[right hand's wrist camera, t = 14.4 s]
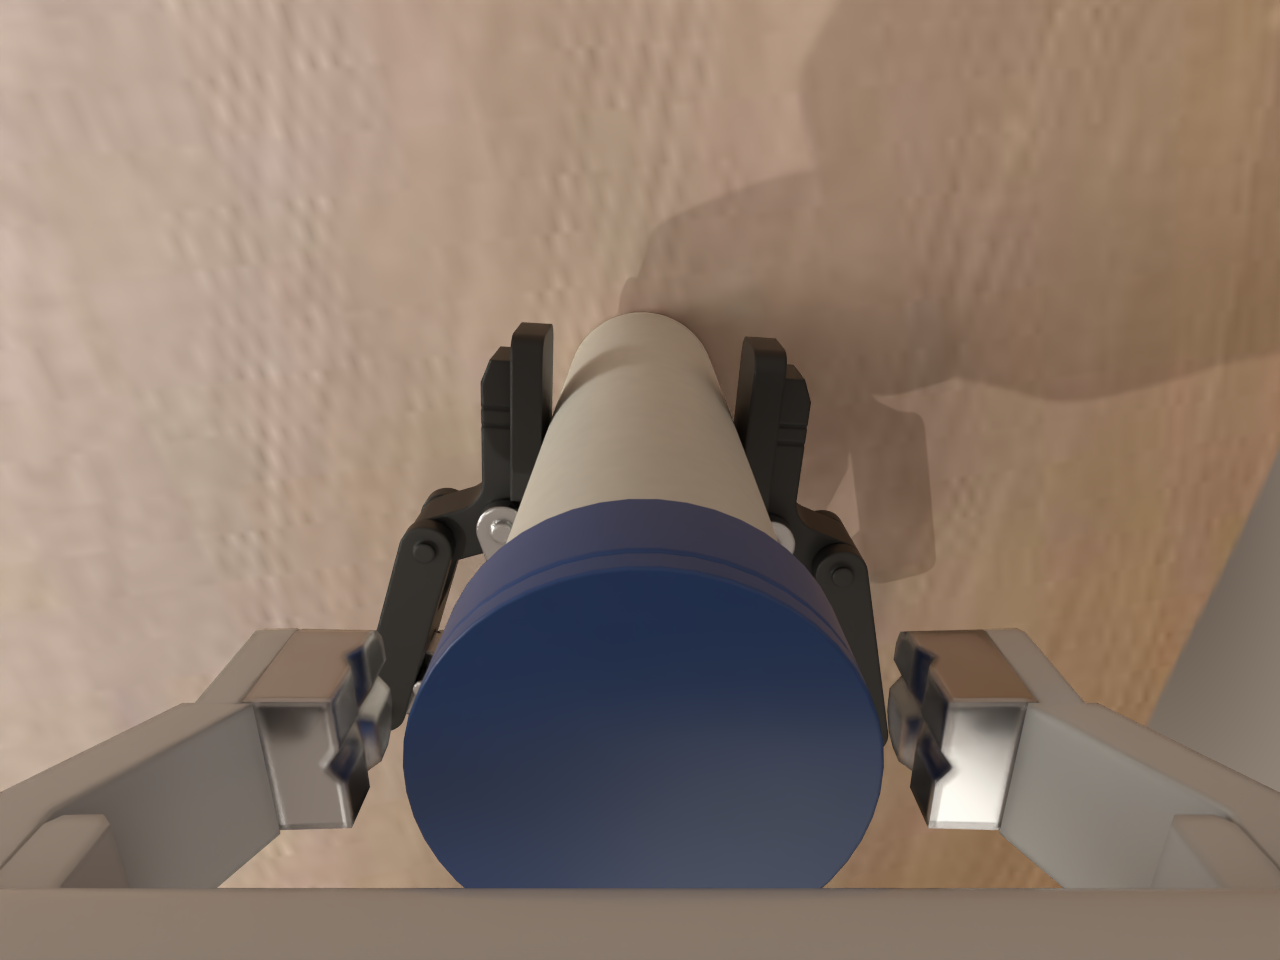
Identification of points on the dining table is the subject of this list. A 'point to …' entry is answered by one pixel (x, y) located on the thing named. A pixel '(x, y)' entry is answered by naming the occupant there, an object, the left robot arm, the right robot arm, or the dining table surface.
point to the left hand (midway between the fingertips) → (647, 339)
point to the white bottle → (641, 429)
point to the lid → (643, 712)
